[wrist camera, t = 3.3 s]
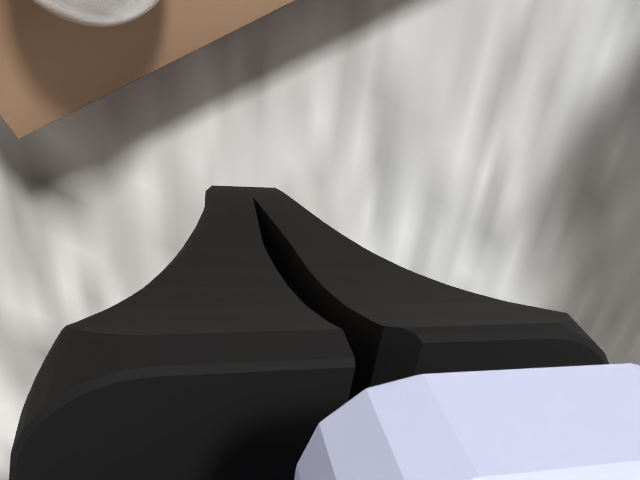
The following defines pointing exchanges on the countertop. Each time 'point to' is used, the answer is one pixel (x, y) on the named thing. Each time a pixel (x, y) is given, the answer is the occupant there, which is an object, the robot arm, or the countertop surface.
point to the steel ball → (98, 10)
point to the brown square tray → (99, 52)
